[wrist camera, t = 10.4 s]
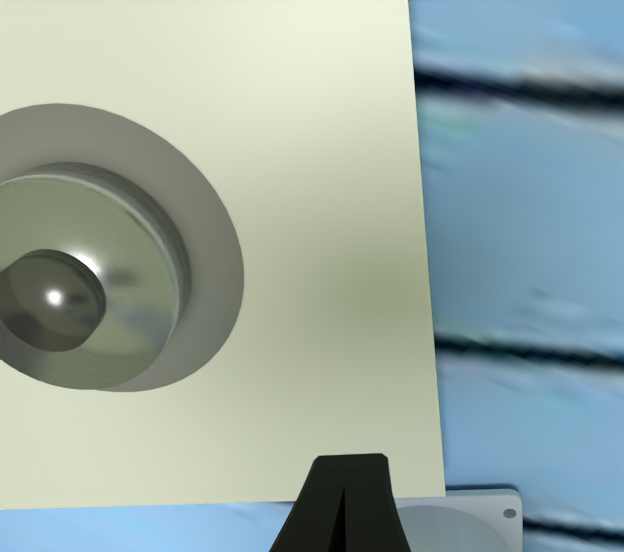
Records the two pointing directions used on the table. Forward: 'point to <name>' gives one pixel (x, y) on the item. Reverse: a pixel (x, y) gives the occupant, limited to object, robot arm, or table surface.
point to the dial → (86, 276)
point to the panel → (235, 246)
